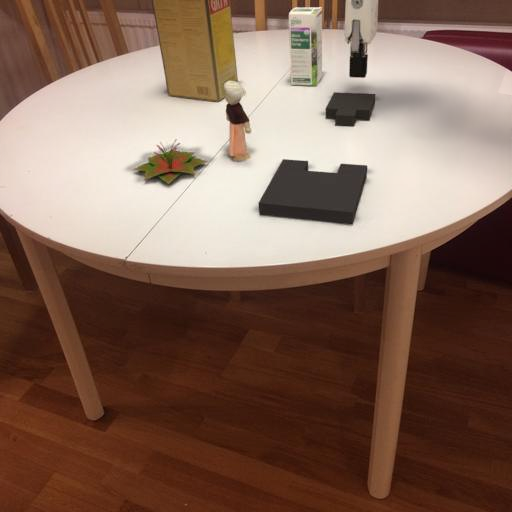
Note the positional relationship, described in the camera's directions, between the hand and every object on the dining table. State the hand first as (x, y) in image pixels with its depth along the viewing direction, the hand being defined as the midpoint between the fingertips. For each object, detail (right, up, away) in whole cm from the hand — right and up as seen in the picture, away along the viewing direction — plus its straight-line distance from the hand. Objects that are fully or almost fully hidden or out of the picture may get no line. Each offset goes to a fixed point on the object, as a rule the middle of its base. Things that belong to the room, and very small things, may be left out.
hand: (357, 75), depth 103 cm
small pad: (-3, -9, -5) cm, 11 cm away
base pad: (-12, -27, -27) cm, 40 cm away
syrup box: (-9, +2, +10) cm, 14 cm away
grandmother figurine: (-23, -19, -15) cm, 33 cm away
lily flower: (-34, -21, -17) cm, 44 cm away
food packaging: (-31, 0, +11) cm, 33 cm away
